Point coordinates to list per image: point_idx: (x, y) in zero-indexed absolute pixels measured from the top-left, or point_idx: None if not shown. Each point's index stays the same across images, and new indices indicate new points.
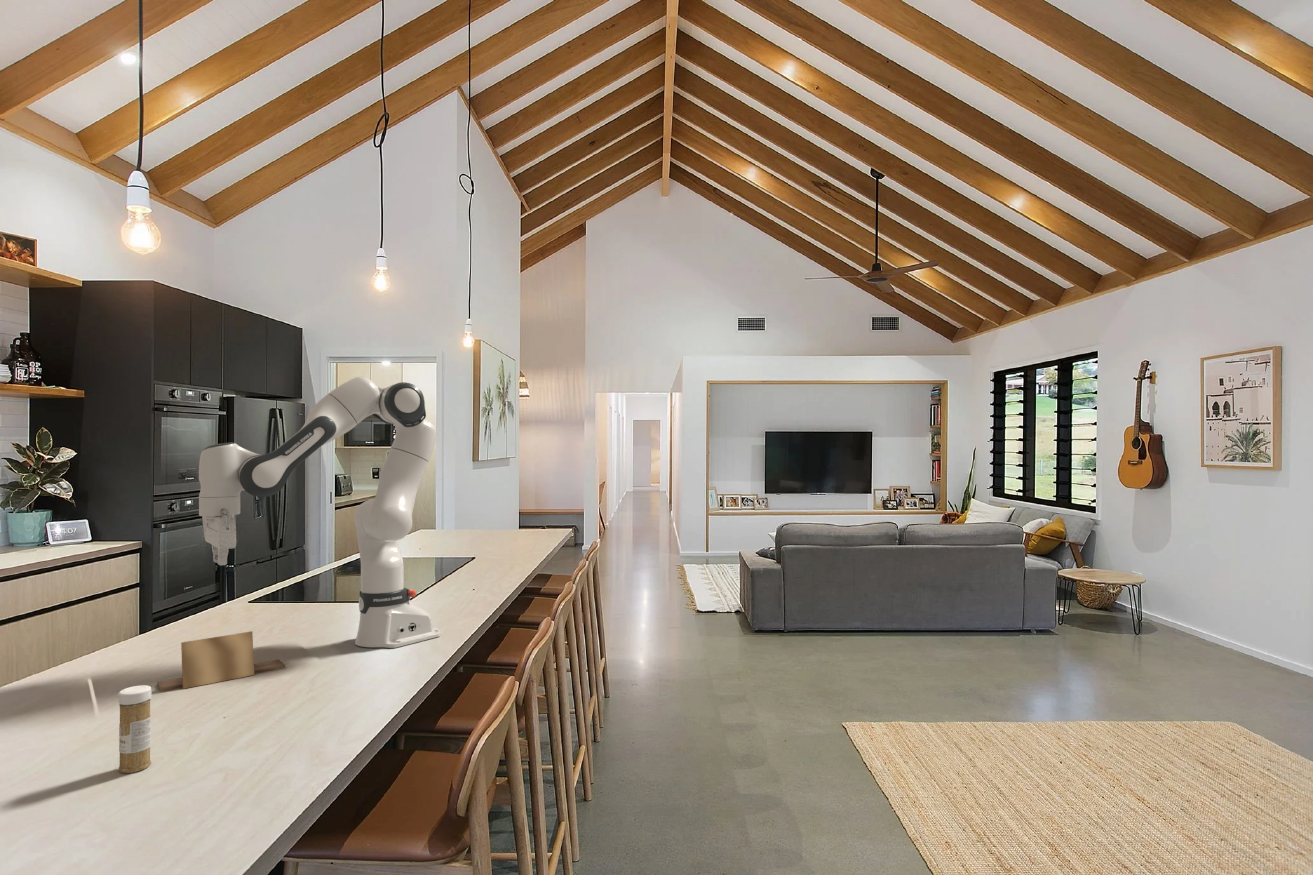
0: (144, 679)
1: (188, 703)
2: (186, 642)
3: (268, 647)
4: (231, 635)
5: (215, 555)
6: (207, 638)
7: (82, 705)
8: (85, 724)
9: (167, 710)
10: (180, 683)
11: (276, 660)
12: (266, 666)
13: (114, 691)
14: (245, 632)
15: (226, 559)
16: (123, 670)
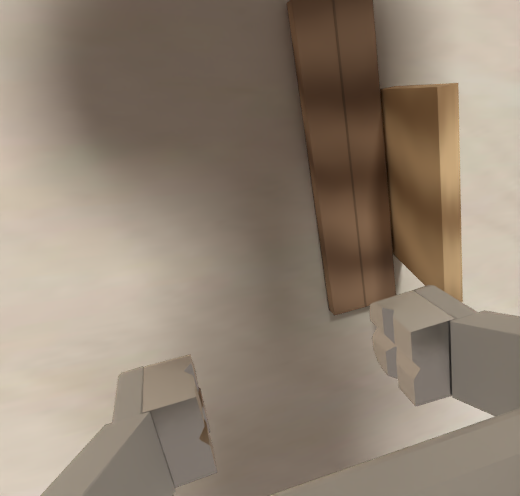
0: (241, 350)
1: (488, 228)
2: (460, 289)
3: (13, 16)
4: (457, 158)
5: (195, 467)
6: (454, 234)
7: (372, 415)
8: None
9: (504, 261)
10: (380, 262)
11: (301, 8)
12: (353, 46)
13: (308, 387)
14: (455, 109)
15: (462, 307)
16: None
